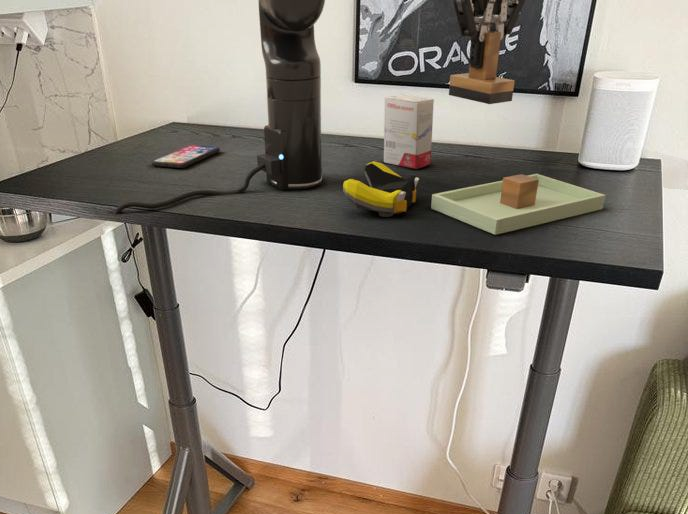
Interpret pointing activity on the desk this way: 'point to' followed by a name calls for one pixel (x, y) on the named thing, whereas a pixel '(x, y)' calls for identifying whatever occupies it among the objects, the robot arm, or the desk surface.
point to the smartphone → (185, 156)
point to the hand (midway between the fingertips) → (483, 66)
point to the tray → (497, 218)
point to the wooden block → (519, 191)
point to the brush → (484, 77)
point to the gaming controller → (382, 190)
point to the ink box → (408, 130)
